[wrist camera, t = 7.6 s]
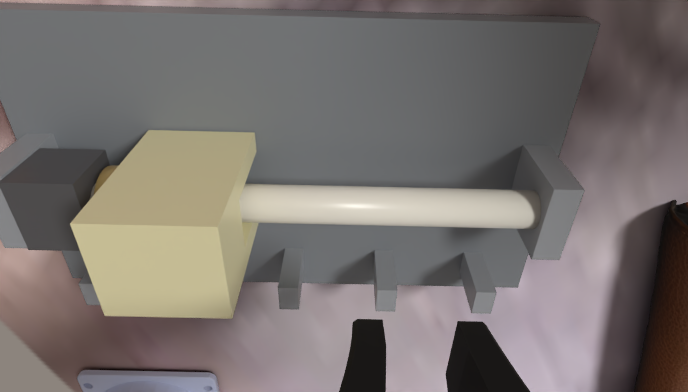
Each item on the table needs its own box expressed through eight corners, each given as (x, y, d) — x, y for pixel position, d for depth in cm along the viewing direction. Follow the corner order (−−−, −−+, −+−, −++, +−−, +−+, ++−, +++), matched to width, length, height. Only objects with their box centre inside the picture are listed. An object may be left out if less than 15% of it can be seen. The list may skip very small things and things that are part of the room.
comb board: (587, 16, 16) (658, 54, 12) (511, 272, 23) (543, 347, 19) (-17, 2, 16) (-128, 35, 12) (82, 263, 23) (30, 336, 19)
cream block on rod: (254, 132, 17) (217, 227, 13) (261, 210, 19) (232, 318, 14) (148, 129, 17) (70, 223, 12) (166, 208, 19) (104, 316, 14)
